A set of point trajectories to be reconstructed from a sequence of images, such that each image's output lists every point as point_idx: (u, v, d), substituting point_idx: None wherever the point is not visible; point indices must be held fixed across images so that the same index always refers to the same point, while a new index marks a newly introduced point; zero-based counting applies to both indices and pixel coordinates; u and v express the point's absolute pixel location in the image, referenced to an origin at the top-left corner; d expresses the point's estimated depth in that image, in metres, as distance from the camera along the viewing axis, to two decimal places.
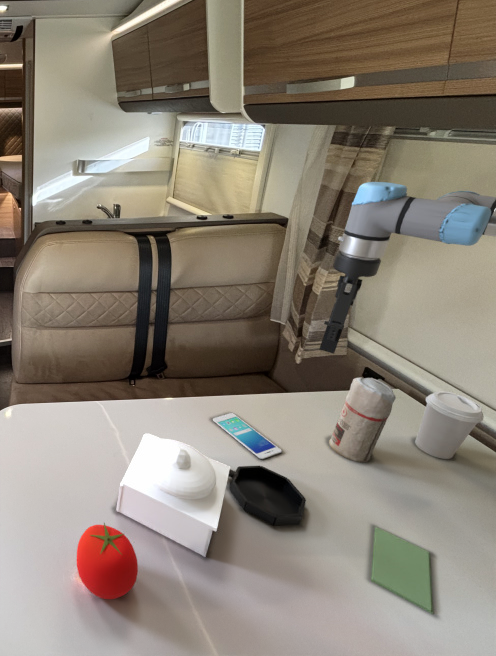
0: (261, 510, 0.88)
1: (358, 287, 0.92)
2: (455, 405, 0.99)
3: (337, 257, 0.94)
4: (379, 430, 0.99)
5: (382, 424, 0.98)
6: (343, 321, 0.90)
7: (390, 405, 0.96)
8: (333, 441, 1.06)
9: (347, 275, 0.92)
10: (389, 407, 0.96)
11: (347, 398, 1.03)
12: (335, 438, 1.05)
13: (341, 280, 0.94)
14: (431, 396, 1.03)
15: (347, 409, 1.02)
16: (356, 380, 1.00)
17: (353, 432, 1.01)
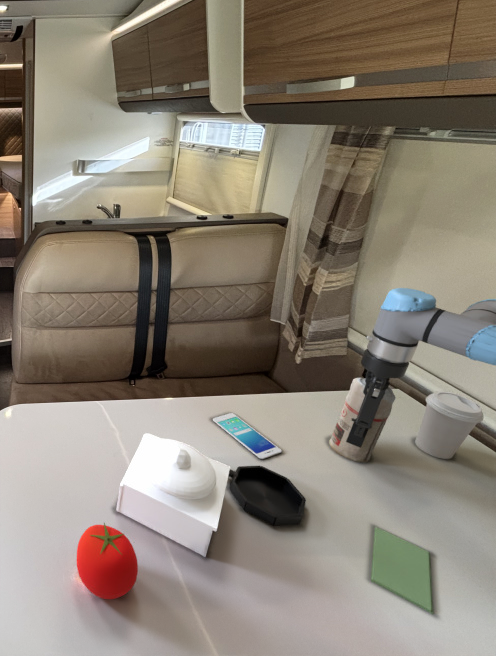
0: (261, 510, 0.88)
1: (386, 387, 0.95)
2: (455, 405, 0.99)
3: (365, 356, 0.97)
4: (379, 430, 0.99)
5: (382, 424, 0.98)
6: (370, 423, 0.95)
7: (390, 405, 0.96)
8: (333, 441, 1.06)
9: (376, 375, 0.95)
10: (389, 407, 0.96)
11: (347, 398, 1.03)
12: (335, 438, 1.05)
13: (369, 378, 0.97)
14: (431, 396, 1.03)
15: (347, 410, 1.02)
16: (356, 380, 1.00)
17: None
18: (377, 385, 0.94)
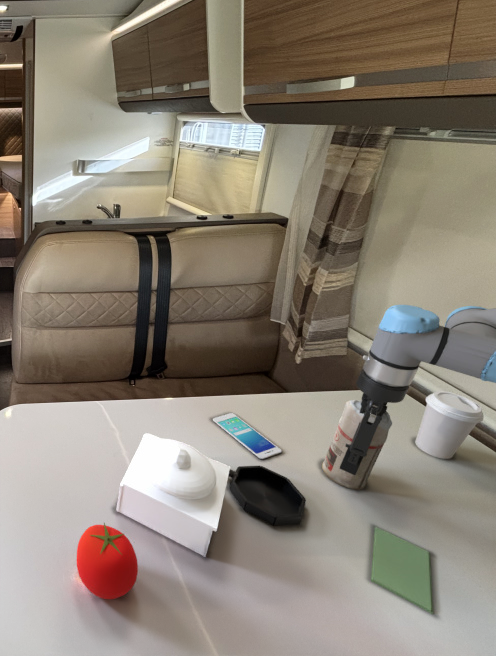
0: (261, 510, 0.88)
1: (383, 412, 0.88)
2: (455, 405, 0.99)
3: (361, 377, 0.89)
4: (374, 457, 0.91)
5: (377, 451, 0.90)
6: (365, 450, 0.87)
7: (385, 432, 0.88)
8: (325, 465, 0.99)
9: (372, 399, 0.87)
10: (384, 434, 0.88)
11: (340, 421, 0.95)
12: (328, 462, 0.98)
13: (365, 401, 0.90)
14: (431, 396, 1.03)
15: (339, 434, 0.94)
16: (349, 403, 0.92)
17: None
18: (373, 410, 0.86)
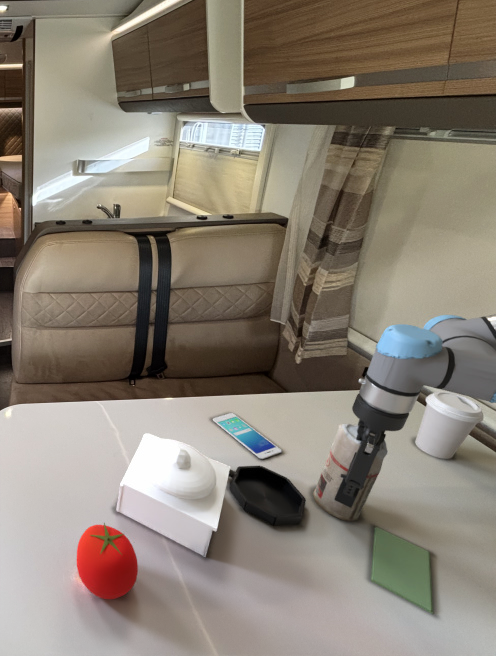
0: (261, 510, 0.88)
1: (381, 440, 0.80)
2: (455, 405, 0.99)
3: (357, 402, 0.82)
4: (366, 487, 0.84)
5: (370, 481, 0.83)
6: (362, 482, 0.80)
7: (378, 461, 0.81)
8: (316, 492, 0.92)
9: (369, 426, 0.80)
10: (377, 463, 0.81)
11: (332, 446, 0.88)
12: (318, 489, 0.91)
13: (361, 428, 0.82)
14: (431, 396, 1.03)
15: (330, 459, 0.88)
16: (341, 427, 0.86)
17: (335, 486, 0.87)
18: (371, 439, 0.79)
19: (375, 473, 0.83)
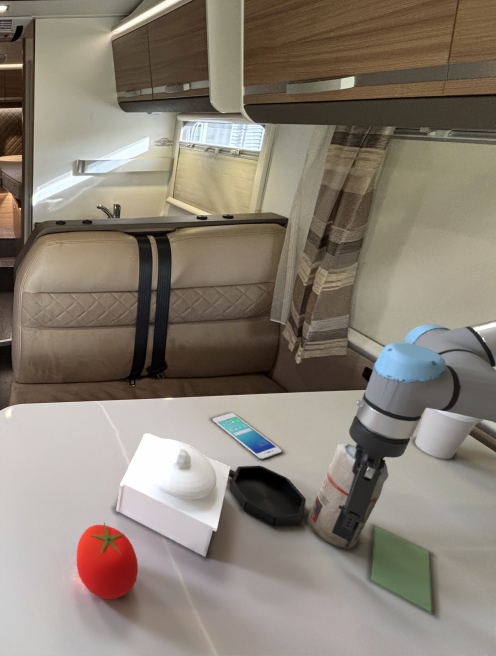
0: (261, 510, 0.88)
1: (381, 466, 0.75)
2: None
3: (355, 425, 0.76)
4: None
5: (368, 506, 0.78)
6: (363, 514, 0.72)
7: (378, 484, 0.77)
8: (310, 516, 0.87)
9: (367, 452, 0.74)
10: (377, 486, 0.77)
11: (329, 467, 0.84)
12: (313, 512, 0.86)
13: (359, 452, 0.77)
14: None
15: (327, 481, 0.83)
16: (340, 446, 0.81)
17: (331, 510, 0.82)
18: (370, 463, 0.74)
19: (374, 498, 0.78)
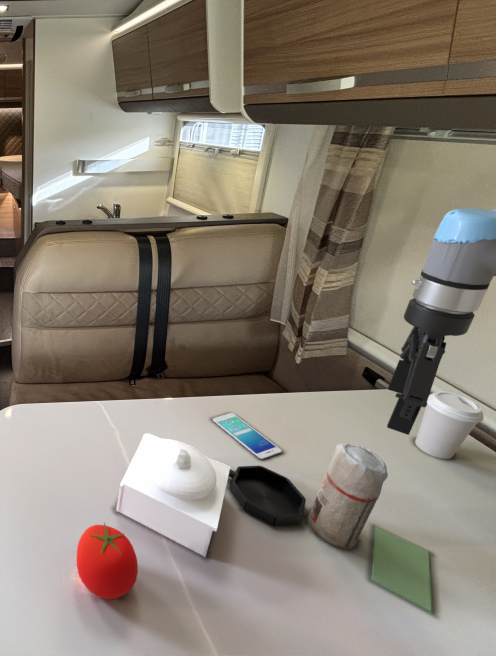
0: (261, 510, 0.88)
1: None
2: (455, 405, 0.99)
3: (411, 307, 0.70)
4: (364, 513, 0.79)
5: (368, 506, 0.78)
6: (426, 397, 0.66)
7: (377, 484, 0.77)
8: (310, 516, 0.87)
9: (427, 333, 0.69)
10: (376, 486, 0.77)
11: (329, 467, 0.84)
12: (313, 513, 0.86)
13: (416, 337, 0.71)
14: (431, 396, 1.03)
15: (326, 481, 0.83)
16: (339, 446, 0.81)
17: (331, 510, 0.82)
18: (431, 343, 0.68)
19: (374, 498, 0.78)
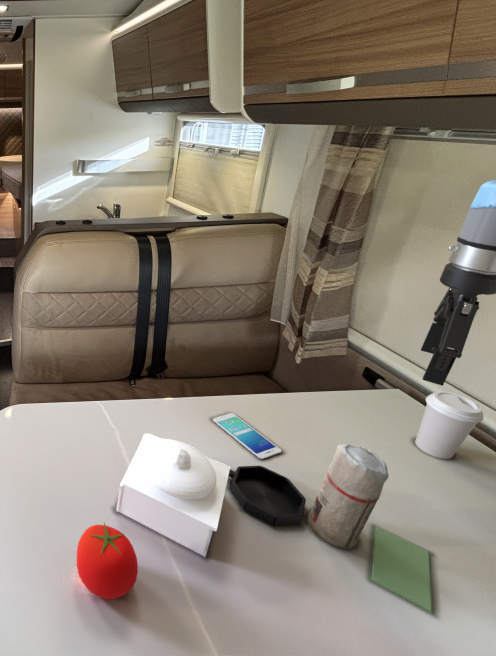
0: (261, 510, 0.88)
1: None
2: (455, 405, 0.99)
3: (448, 270, 0.78)
4: (364, 513, 0.79)
5: (368, 506, 0.78)
6: (461, 348, 0.74)
7: (378, 485, 0.76)
8: (310, 516, 0.87)
9: (462, 292, 0.76)
10: (377, 487, 0.77)
11: (329, 467, 0.84)
12: (313, 513, 0.86)
13: (451, 298, 0.79)
14: (431, 396, 1.03)
15: (327, 481, 0.83)
16: (340, 447, 0.81)
17: (331, 510, 0.82)
18: (466, 301, 0.75)
19: (374, 498, 0.78)
